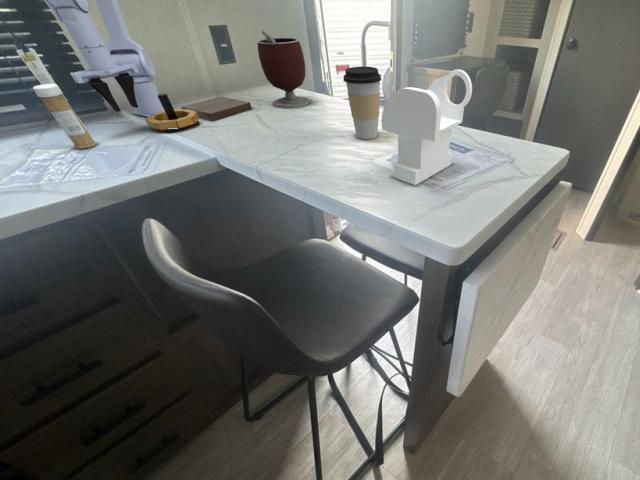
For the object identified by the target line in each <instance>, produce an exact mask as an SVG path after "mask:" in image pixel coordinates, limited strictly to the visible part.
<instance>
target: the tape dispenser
mask: <svg viewBox="0 0 640 480" xmlns="http://www.w3.org/2000/svg"><path fill="white" fill-rule="evenodd" d="M455 76H457V77H460V78H461V79H462V80H463V82H464V85H465V94H464V97H463V100H462V101H461V102H460V103H458V104H456V103H454V102H452V101H451V100H450V98H449V95H448V85H449V82H450V80H451V79H452V78H453V77H455ZM472 94H473V83H472V80H471V77H470V76H469V74H468V73H467V72H466V71H465V70H463V69H461V68H460V69H453V70H451V71H448V72H447V74H445V75H444V76H441V77H438V78H437V79H435V80H434V81H432V82H431V84H430V85H428V87H427V89H423V88H418V87H413V86H412V87H411V86H408V87H407V86H406V87H404V88H399V89H397V90H395V91H394V92H392V94H390V95H389V97H388V98H387V100H386V101H385V103H384V106H383V108H382V114H381V130H382V131H384V132H388V133H392V134H395V135H397V152H398V153H397V159H398V160H397V162H395V163H393V165H392V169H393V172H392V173H393V174H392V175H393V178H395V179H397V180H399V181H403V182H405V183H408V184H411V185H413V186H416V185H418V184H420V183H422V182H423V181H425V180H427V179H429V178H431V177H432V176H434V175H435V174H437V173H439V172H441V171H442V170H444V169H446V168H448V167H450V166H451V165H452V164H453V163H452V162H453V153H454V152H453V150H450V147H451V136H452V128H454V127H456V126H458V125H460V124H463V121H464V120H463V118H464V111H465V107H466V106H467V105H468V104H469V103H470V100H471V98H472Z"/></svg>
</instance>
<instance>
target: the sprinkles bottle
mask: <svg viewBox="0 0 640 480" xmlns="http://www.w3.org/2000/svg"><path fill="white" fill-rule="evenodd" d="M32 90H33V91H34V93H35V94H36V96H37V97H39V99H41V101H42V103H44V105H45V107H46V108H47V109H48V110H49V112H50V114H51V115H52V116H53V118H54V119H55V120H56V123H58V125H59V126H60V128H61V129H62V130H63V132H64V134H65V135H67V137H68V138H69V140H70V141H71V142H72V144H73V145H74V148H76V149H81V150H83V149H89V148H92V147H95V146H96V145H97V142H96V141H95V140H94V138H93V137H92V136H91V134H90V133H89V131H88V129H87V128H86V126H85V124H84V123H83V122H82V120H81V119H80V117H79V116H78V115H77V113H76V112H75V110H74V109H73V107H72V106H71V104H70V103H69V102H68V100H67V99H66V97H65V96H64V94H63V93H64V92H63V91H62V89H61V88H60V87H59V85H58V84H56V83H43V84H39V85H34V86H33V87H32Z"/></svg>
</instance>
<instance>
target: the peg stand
mask: <svg viewBox="0 0 640 480" xmlns="http://www.w3.org/2000/svg"><path fill="white" fill-rule="evenodd" d="M157 96H158V98H159V100H160V102H161V104H162V106H163V109H164V111H165V113H166V115H167V117H168V119H167V120H175V119H179V118H178V117H177V115H176V113H175V111H174V110H175V109H174V107H173V105H172V102H171V100H170V99H169V96H168V93H159V94H158V95H157ZM198 125H200V122H199V119H198V120H197V122H196V123H195V124H192V125H188V126H185V127H182V128H178V129H164V130H162V131H164V132H167V133H171V134H172V133H175V132H178V131H182V130H185V129H188V128H192V127H195V126H198Z"/></svg>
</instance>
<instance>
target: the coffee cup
mask: <svg viewBox="0 0 640 480" xmlns="http://www.w3.org/2000/svg"><path fill="white" fill-rule="evenodd" d="M344 73H345V74H344V75H343V82H345V85H346V89H347V98H348V103H349V109H350V114H351V117H352V120H353V126H354V131H355V136H356V137H357V138H358V139H359V140H373V139H376V138H377V137H378V135H379V117H380V104H381V102H380V101H381V100H380V99H381V92H380V87H381V86H380V84H381V81H382V77H381V76H382V75H381V73H379V68H377V67H374V66H351V67H348V68H346V69H345V71H344Z"/></svg>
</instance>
